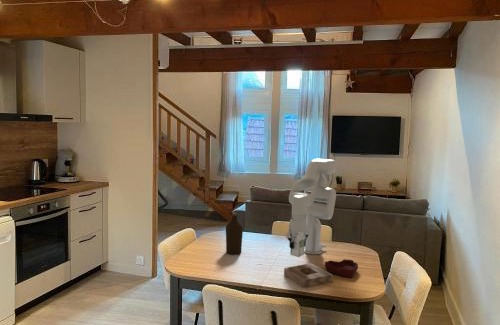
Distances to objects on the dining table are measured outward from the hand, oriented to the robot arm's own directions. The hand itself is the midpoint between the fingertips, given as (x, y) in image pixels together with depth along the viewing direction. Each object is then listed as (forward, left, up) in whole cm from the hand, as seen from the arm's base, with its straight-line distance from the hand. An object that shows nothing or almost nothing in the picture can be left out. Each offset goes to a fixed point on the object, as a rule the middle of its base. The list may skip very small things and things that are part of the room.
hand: (297, 246), depth 223 cm
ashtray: (-17, +20, -11) cm, 29 cm away
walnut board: (+6, +18, -11) cm, 22 cm away
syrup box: (0, 0, -5) cm, 5 cm away
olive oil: (+24, -35, -11) cm, 43 cm away
